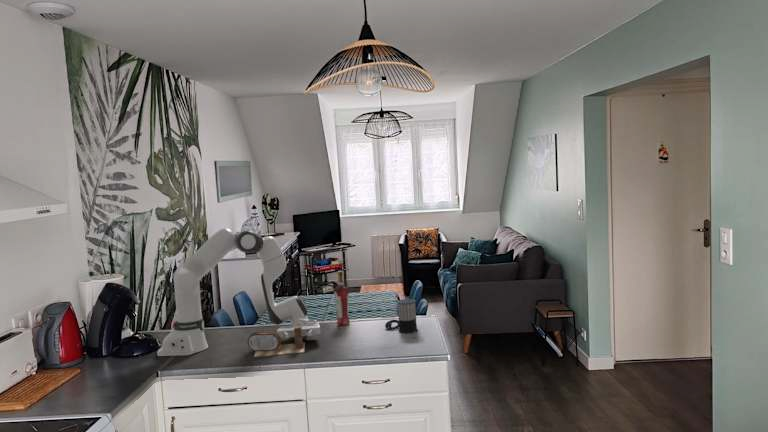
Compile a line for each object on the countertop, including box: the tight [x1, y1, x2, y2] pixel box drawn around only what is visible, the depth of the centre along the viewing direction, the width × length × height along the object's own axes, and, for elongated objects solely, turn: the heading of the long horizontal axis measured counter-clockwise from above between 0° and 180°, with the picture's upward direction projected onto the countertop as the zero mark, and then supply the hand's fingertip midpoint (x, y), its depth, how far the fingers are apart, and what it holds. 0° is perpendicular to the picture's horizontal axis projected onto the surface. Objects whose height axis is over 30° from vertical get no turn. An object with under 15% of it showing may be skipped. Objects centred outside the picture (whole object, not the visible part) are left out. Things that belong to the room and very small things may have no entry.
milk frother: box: [384, 298, 418, 334], centre depth 282 cm, size 14×16×15 cm
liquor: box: [333, 270, 351, 327], centre depth 297 cm, size 7×7×28 cm
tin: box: [247, 331, 282, 352], centre depth 260 cm, size 15×3×8 cm, turn 84°
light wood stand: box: [253, 326, 306, 358], centre depth 261 cm, size 22×14×10 cm, turn 96°
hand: (298, 335), depth 261 cm, fingers open, 8 cm apart
